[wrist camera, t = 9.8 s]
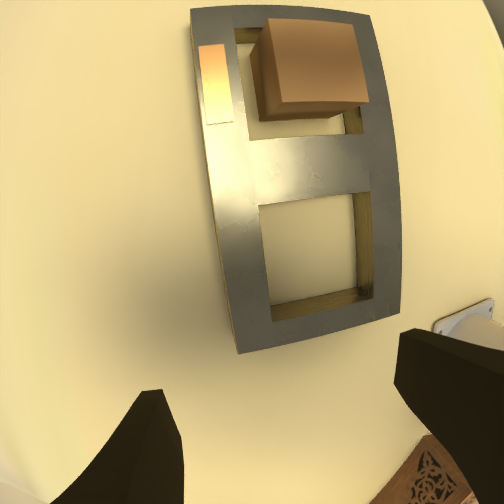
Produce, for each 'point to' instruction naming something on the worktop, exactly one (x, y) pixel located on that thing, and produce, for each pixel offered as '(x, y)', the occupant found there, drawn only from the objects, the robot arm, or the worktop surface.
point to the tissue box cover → (427, 479)
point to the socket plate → (295, 181)
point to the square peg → (307, 70)
